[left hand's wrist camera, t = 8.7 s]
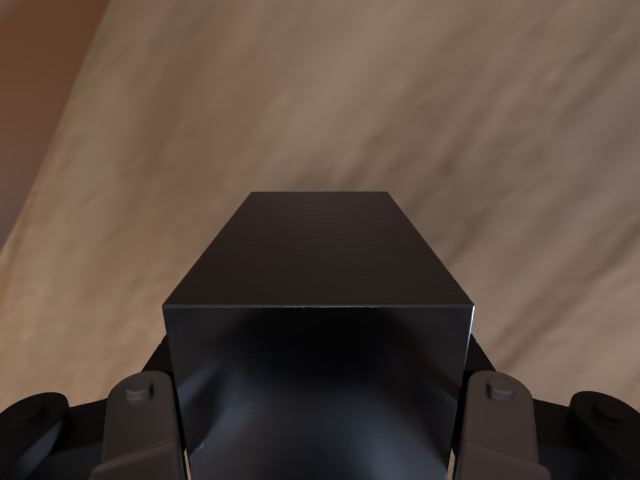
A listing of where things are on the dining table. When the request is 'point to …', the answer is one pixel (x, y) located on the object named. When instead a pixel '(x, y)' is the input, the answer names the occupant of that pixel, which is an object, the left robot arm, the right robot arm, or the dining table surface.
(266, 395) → the box
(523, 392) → the left robot arm
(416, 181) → the dining table surface
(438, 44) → the dining table surface
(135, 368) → the dining table surface
